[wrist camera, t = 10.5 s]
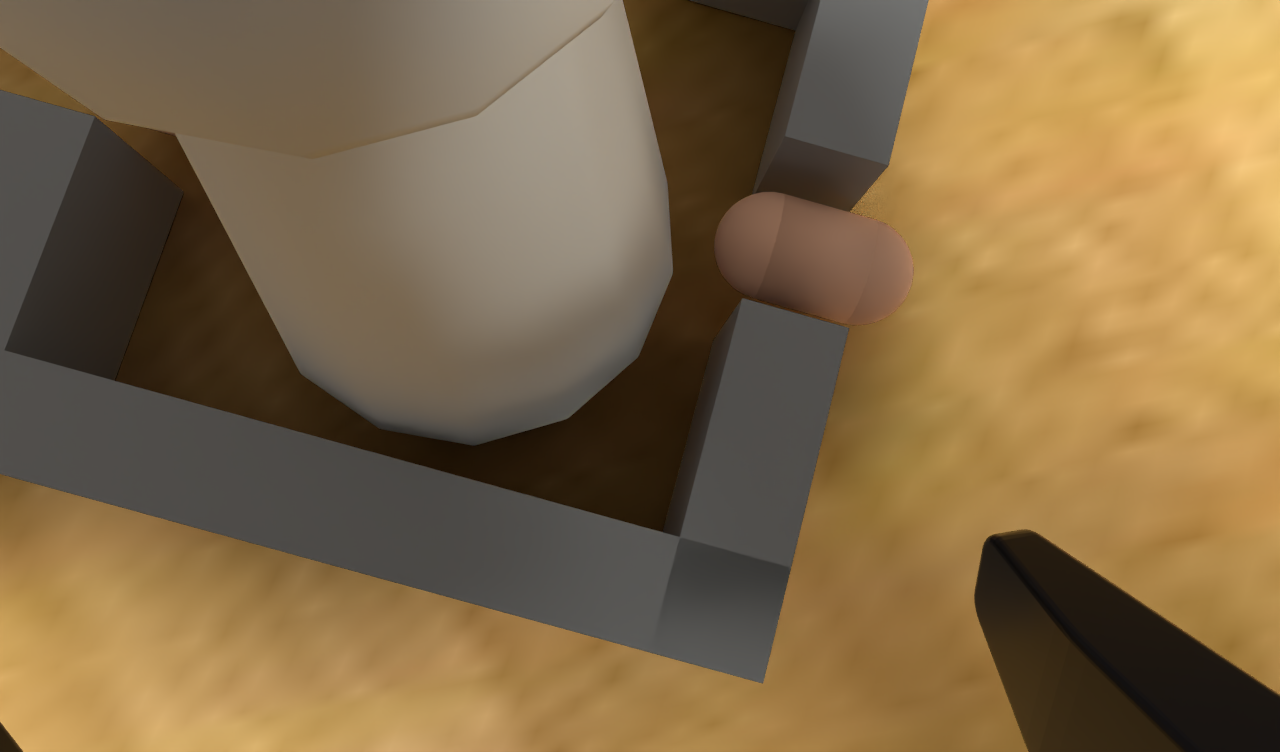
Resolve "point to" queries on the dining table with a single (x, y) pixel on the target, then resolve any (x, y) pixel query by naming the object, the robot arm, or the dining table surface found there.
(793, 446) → the grey square frame
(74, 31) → the salt shaker
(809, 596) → the dining table surface
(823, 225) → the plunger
